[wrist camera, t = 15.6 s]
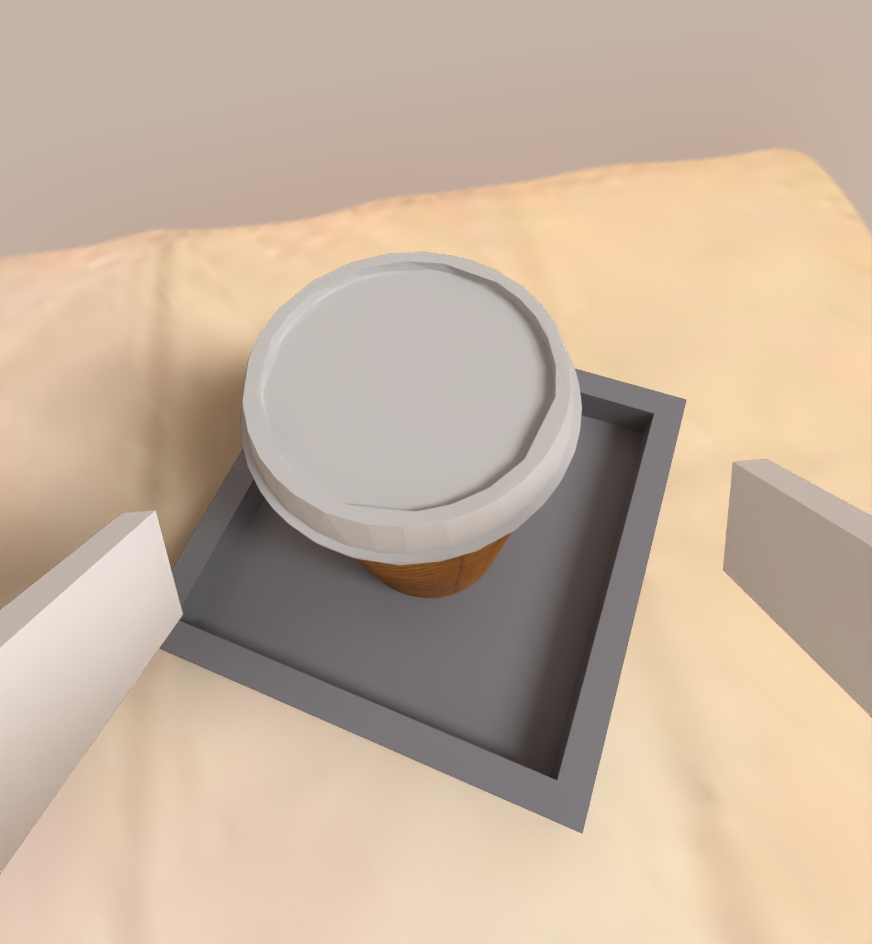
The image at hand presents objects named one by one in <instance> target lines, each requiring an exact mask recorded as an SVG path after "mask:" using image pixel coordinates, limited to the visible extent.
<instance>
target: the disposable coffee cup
mask: <svg viewBox="0 0 872 944" xmlns="http://www.w3.org/2000/svg"><path fill="white" fill-rule="evenodd" d="M581 413H582V404H581V395H580V387H579V383H578V379H577V375H576V371H575V369H574V366H573V364H572V361H571V359H570V356H569V354H568V352H567V350H566V348H565V345H564V342H563V340H562V338H561V335H560V333H559V331H558V329H557V326H556V324H555V322H554V321H553V320H552V318H551V317H550V316H549V314H548V313H547V311H546V310H545V309H544V307H543V306H542V305H541V304H540V303H539V302H538V301H537V300H536V299H535V298H534V297H533V296H532V295H531V294H530V293H529V292H528V291H527V290H526V289H525V288H524V287H523V286H521V285H520V284H518V283H516V282H515V281H513V280H511V279H510V278H508V277H507V276H505V275H503V274H502V273H500V272H498V271H497V270H495V269H492V268H490V267H487V266H485V265H483V264H480V263H478V262H475V261H472V260H468V259H464V258H461V257H457V256H452V255H444V254H437V253H429V252H413V253H389V254H385V255H381V256H376V257H372V258H368V259H364V260H360V261H355V262H351V263H349V264H347V265H345V266H343V267H341V268H338V269H336V270H334V271H332V272H330V273H328V274H326V275H324V276H322V277H320V278H318V279H316V280H314V281H312V282H311V283H309V284H308V285H307V286H306V287H304V288H303V289H302V290H301V291H300V292H298V293H297V294H296V295H295V296H293V297H292V298H291V299H290V300H289V301H287V302H286V303H285V304H284V305H282V306H281V307H280V308H279V309H278V311H277V312H276V313H275V315H274V316H273V318H272V319H271V320H270V322H269V323H268V324H267V326H266V327H265V328H264V330H263V331H262V332H261V334H260V335H259V338H258V340H257V342H256V344H255V346H254V349H253V351H252V353H251V355H250V357H249V360H248V365H247V370H246V375H245V380H244V388H243V407H242V413H241V432H242V445H243V449H244V453H245V457H246V460H247V464H248V468H249V470H250V472H251V474H252V476H253V478H254V480H255V482H256V484H257V486H258V488H259V490H260V492H261V493H262V495H263V496H264V497H265V499H266V500H267V501H268V503H269V504H270V505H271V507H272V508H273V509H274V510H275V511H276V512H277V513H278V514H279V515H280V516H281V517H282V518H283V519H284V520H285V521H286V522H287V523H288V524H290V525H291V526H293V527H294V528H295V529H297V530H298V531H300V532H301V533H303V534H304V535H305V536H307V537H308V538H310V539H311V540H313V541H314V542H316V543H317V544H319V545H321V546H323V547H326V548H328V549H331V550H334V551H336V552H339V553H341V554H344V555H347V556H349V557H352V558H355V559H356V560H357V561H358V562H360V563H361V564H362V565H363V566H365V567H366V568H367V569H368V570H370V571H371V572H372V573H373V574H375V575H376V576H377V577H379V578H380V579H381V580H382V581H383V582H384V583H386V584H387V585H389V586H390V587H391V588H393V589H394V590H397V591H399V592H401V593H403V594H406V595H409V596H414V597H420V598H441V597H446V596H451V595H453V594H455V593H458V592H460V591H463V590H465V589H467V588H468V587H470V586H471V585H473V584H474V583H476V582H477V581H478V580H479V579H480V578H481V577H482V576H483V575H484V574H485V573H486V572H487V570H488V569H489V567H490V566H491V564H492V563H493V561H494V559H495V558H496V556H497V554H498V553H499V551H500V550H501V548H502V547H503V545H504V544H505V542H506V541H507V539H508V537H509V536H510V534H511V533H512V532H513V531H515V530H516V529H517V528H518V527H519V526H521V525H522V524H523V523H524V522H525V521H526V520H527V519H528V518H529V517H531V516H532V515H533V514H534V513H535V512H536V511H537V510H538V509H539V508H540V507H542V506H543V504H544V503H545V502H546V501H547V500H548V498H549V497H550V496H551V494H552V493H553V491H554V490H555V489H556V487H557V486H558V485H559V483H560V482H561V480H562V478H563V477H564V474H565V472H566V470H567V468H568V466H569V464H570V461H571V459H572V457H573V455H574V453H575V450H576V445H577V441H578V437H579V433H580V426H581Z"/></svg>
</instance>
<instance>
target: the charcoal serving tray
mask: <svg viewBox="0 0 872 944" xmlns="http://www.w3.org/2000/svg"><path fill="white" fill-rule="evenodd" d="M574 369H575V368H574ZM575 371H576V375H577V379H578V383H579V387H580V395H581V404H582V413H581V426H580V433H579V437H578V441H577V445H576V450H575V453H574V455H573V457H572V459H571V461H570V464H569V466H568V468H567V470H566V472H565V474H564V477H563V478H562V480H561V482H560V483H559V485H558V486H557V487H556V489H555V490H554V491H553V493H552V494H551V496H550V497H549V498H548V500H547V501H546V502H545V503H544V504H543V506H542V507H540V508H539V509H538V510H537V511H536V512H535V513H534V514H533V515H532V516H531V517H529V518H528V519H527V520H526V521H525V522H524V523H523V524H522V525H521V526H519V527H518V528H517V529H516V530H515V531H513V532H512V533H511V534H510V536H509V537H508V539H507V541H506V542H505V544H504V545H503V547H502V548H501V550H500V551H499V553H498V554H497V556H496V558H495V559H494V561H493V563H492V564H491V566H490V567H489V569H488V570H487V572H486V573H485V574H484V575H483V576H482V577H481V578H480V579H479V580H478V581H477V582H476V583H474V584H473V585H471V586H470V587H468V588H467V589H465V590H463V591H460V592H458V593H455V594H453V595H451V596H446V597H441V598H420V597H414V596H409V595H406V594H403V593H401V592H399V591H397V590H394V589H393V588H391V587H390V586H389V585H387V584H386V583H384V582H383V581H382V580H381V579H380V578H379V577H377V576H376V575H375V574H373V573H372V572H371V571H370V570H368V569H367V568H366V567H365V566H363V565H362V564H361V563H360V562H358V561H357V560H356V559H355V558H352V557H349V556H347V555H344V554H341V553H339V552H336V551H334V550H331V549H328V548H326V547H323V546H321V545H319V544H317V543H316V542H314V541H313V540H311V539H310V538H308V537H307V536H305V535H304V534H303V533H301V532H300V531H298V530H297V529H295V528H294V527H293V526H291V525H290V524H288V523H287V522H286V521H285V520H284V519H283V518H282V517H281V516H280V515H279V514H278V513H277V512H276V511H275V510H274V509H273V508H272V507H271V505H270V504H269V503H268V501H267V500H266V499H265V497H264V496H263V495H262V493H261V492H260V490H259V488H258V486H257V484H256V482H255V480H254V478H253V476H252V474H251V472H250V470H249V468H248V464H247V460H246V457H245V453H244V449H243V450H242V452H241V453H240V455H239V457H238V458H237V460H236V462H235V464H234V465H233V467H232V469H231V470H230V472H229V474H228V475H227V477H226V479H225V480H224V482H223V484H222V486H221V487H220V489H219V491H218V492H217V494H216V496H215V497H214V499H213V501H212V503H211V504H210V506H209V508H208V509H207V511H206V513H205V514H204V516H203V518H202V519H201V521H200V523H199V525H198V526H197V528H196V530H195V531H194V533H193V535H192V536H191V538H190V540H189V542H188V543H187V545H186V547H185V548H184V550H183V552H182V553H181V555H180V557H179V558H178V560H177V562H176V564H175V565H174V567H173V569H172V570H171V571H172V575H173V578H174V582H175V586H176V590H177V594H178V598H179V601H180V605H181V609H182V613H183V615H182V617H181V618H180V619H179V621H178V622H177V624H176V625H175V627H174V628H173V629H172V631H171V632H170V634H169V635H168V636H167V638H166V639H165V641H164V642H163V644H162V645H161V646H160V649H162V650H164V651H167V652H169V653H171V654H174V655H176V656H178V657H180V658H183V659H185V660H187V661H190V662H192V663H194V664H196V665H199V666H201V667H203V668H205V669H208V670H210V671H212V672H215V673H217V674H219V675H221V676H224V677H226V678H228V679H231V680H233V681H235V682H237V683H240V684H242V685H244V686H247V687H249V688H251V689H253V690H256V691H258V692H260V693H263V694H265V695H267V696H269V697H272V698H274V699H276V700H279V701H281V702H283V703H285V704H288V705H290V706H292V707H295V708H297V709H299V710H301V711H304V712H306V713H308V714H311V715H313V716H315V717H317V718H320V719H322V720H324V721H326V722H329V723H331V724H333V725H336V726H338V727H340V728H342V729H345V730H347V731H349V732H352V733H354V734H356V735H358V736H361V737H363V738H365V739H368V740H370V741H372V742H374V743H377V744H379V745H381V746H384V747H386V748H388V749H390V750H393V751H395V752H397V753H400V754H402V755H404V756H406V757H409V758H411V759H413V760H416V761H418V762H420V763H422V764H425V765H427V766H429V767H432V768H434V769H436V770H438V771H441V772H443V773H445V774H447V775H450V776H452V777H454V778H457V779H459V780H461V781H463V782H466V783H468V784H470V785H473V786H475V787H477V788H479V789H482V790H484V791H486V792H489V793H491V794H493V795H495V796H498V797H500V798H502V799H505V800H507V801H509V802H511V803H514V804H516V805H518V806H521V807H523V808H525V809H527V810H530V811H532V812H534V813H537V814H539V815H541V816H543V817H546V818H548V819H550V820H552V821H555V822H557V823H559V824H562V825H564V826H566V827H568V828H571V829H573V830H575V831H578V832H580V833H583V829H584V825H585V821H586V816H587V812H588V808H589V804H590V800H591V796H592V791H593V787H594V783H595V779H596V775H597V771H598V766H599V762H600V758H601V754H602V750H603V746H604V741H605V737H606V733H607V729H608V725H609V721H610V716H611V712H612V708H613V704H614V700H615V696H616V691H617V687H618V683H619V679H620V675H621V671H622V666H623V662H624V658H625V654H626V650H627V646H628V641H629V637H630V633H631V629H632V625H633V621H634V616H635V612H636V608H637V604H638V600H639V595H640V591H641V587H642V583H643V579H644V575H645V570H646V566H647V562H648V558H649V554H650V550H651V545H652V541H653V537H654V533H655V529H656V525H657V520H658V516H659V512H660V508H661V504H662V500H663V495H664V491H665V487H666V483H667V479H668V475H669V470H670V466H671V462H672V458H673V454H674V450H675V445H676V441H677V437H678V433H679V429H680V425H681V420H682V416H683V412H684V408H685V404H686V399H682V398H679V397H675V396H672V395H668V394H664V393H661V392H657V391H654V390H650V389H646V388H643V387H639V386H636V385H632V384H628V383H625V382H621V381H618V380H614V379H610V378H607V377H603V376H600V375H596V374H593V373H589V372H585V371H582V370H578V369H575Z"/></svg>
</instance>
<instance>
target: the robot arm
mask: <svg viewBox="0 0 872 944" xmlns="http://www.w3.org/2000/svg"><path fill="white" fill-rule="evenodd" d="M723 571H724V572H725V573H726V574H727V575H729V576H730V577H731V578H732V579H733V580H734V581H735V582H736V583H737V584H738V585H739V586H740V587H741V588H742V589H743V590H744V591H745V592H746V593H747V594H748V595H749V596H750V597H751V598H752V599H753V600H754V601H755V602H756V603H757V604H758V605H759V606H760V607H761V608H762V609H763V610H764V611H765V612H766V613H767V614H768V615H769V616H770V617H771V618H772V619H773V620H774V621H775V622H776V623H777V624H778V625H779V626H780V627H781V628H782V629H783V630H784V631H785V632H786V633H787V634H788V635H789V636H790V637H791V638H792V639H793V640H794V641H795V642H796V643H797V644H798V645H799V646H800V647H801V648H802V649H803V650H804V651H805V652H806V653H807V654H808V655H809V656H810V657H811V658H812V659H813V660H814V661H815V662H816V663H817V664H818V665H819V666H820V667H821V668H822V669H823V670H824V671H825V672H826V673H827V674H828V675H829V676H830V677H831V678H832V679H833V680H834V681H836V682H837V683H838V684H839V685H840V686H841V687H842V688H843V689H844V690H845V691H846V692H847V693H848V694H849V695H850V696H851V697H852V698H853V699H854V700H855V701H856V702H857V703H858V704H859V705H860V706H861V707H862V708H863V709H864V710H865V711H866V712H867V713H868V714H869V715H870V716H871V717H872V516H871V515H870V514H868V513H866V512H864V511H862V510H860V509H859V508H857V507H855V506H853V505H851V504H849V503H847V502H846V501H844V500H842V499H840V498H838V497H836V496H834V495H833V494H831V493H829V492H827V491H825V490H823V489H822V488H820V487H818V486H816V485H814V484H812V483H810V482H809V481H807V480H805V479H803V478H801V477H799V476H797V475H796V474H794V473H792V472H790V471H788V470H786V469H785V468H783V467H781V466H779V465H777V464H775V463H773V462H772V461H770V460H768V459H760V460H748V461H737V462H733V466H732V477H731V488H730V499H729V510H728V521H727V531H726V542H725V553H724V564H723ZM182 615H183V613H182V609H181V605H180V601H179V598H178V594H177V590H176V586H175V582H174V578H173V575H172V571H171V567H170V563H169V559H168V556H167V552H166V548H165V544H164V540H163V537H162V533H161V529H160V525H159V521H158V517H157V514H156V510H152V511H140V512H129V513H122V514H120V515H119V516H118V517H117V518H115V519H114V520H113V521H112V522H110V523H109V524H108V525H107V526H105V527H104V528H103V529H101V530H100V531H99V532H98V533H96V534H95V535H94V536H93V537H91V538H90V539H89V540H88V541H86V542H85V543H84V544H83V545H81V546H80V547H79V548H78V549H76V550H75V551H74V552H73V553H71V554H70V555H69V556H68V557H66V558H65V559H64V560H63V561H61V562H60V563H59V564H57V565H56V566H55V567H54V568H52V569H51V570H50V571H49V572H47V573H46V574H45V575H44V576H42V577H41V578H40V579H39V580H37V581H36V582H35V583H34V584H32V585H31V586H30V587H29V588H27V589H26V590H25V591H24V592H22V593H21V594H20V595H19V596H17V597H16V598H15V599H13V600H12V601H11V602H10V603H8V604H7V605H6V606H5V607H3V608H2V609H1V610H0V873H1V872H2V870H3V869H4V868H5V866H6V865H7V863H8V862H9V861H10V859H11V858H12V856H13V855H14V853H15V852H16V851H17V849H18V848H19V846H20V845H21V844H22V842H23V841H24V839H25V838H26V836H27V835H28V834H29V832H30V831H31V829H32V828H33V827H34V825H35V824H36V822H37V821H38V819H39V818H40V817H41V815H42V814H43V812H44V811H45V809H46V808H47V807H48V805H49V804H50V802H51V801H52V800H53V798H54V797H55V795H56V794H57V792H58V791H59V790H60V788H61V787H62V785H63V784H64V783H65V781H66V780H67V778H68V777H69V775H70V774H71V773H72V771H73V770H74V768H75V767H76V766H77V764H78V763H79V761H80V760H81V758H82V757H83V756H84V754H85V753H86V751H87V750H88V749H89V747H90V746H91V744H92V743H93V741H94V740H95V739H96V737H97V736H98V734H99V733H100V731H101V730H102V729H103V727H104V726H105V724H106V723H107V722H108V720H109V719H110V717H111V716H112V714H113V713H114V712H115V710H116V709H117V707H118V706H119V705H120V703H121V702H122V700H123V699H124V697H125V696H126V695H127V693H128V692H129V690H130V689H131V688H132V686H133V685H134V683H135V682H136V680H137V679H138V678H139V676H140V675H141V673H142V672H143V670H144V669H145V668H146V666H147V665H148V663H149V662H150V661H151V659H152V658H153V656H154V655H155V653H156V652H157V651H158V649H159V648H160V646H161V645H162V644H163V642H164V641H165V639H166V638H167V636H168V635H169V634H170V632H171V631H172V629H173V628H174V627H175V625H176V624H177V622H178V621H179V619H180V618H181V617H182Z"/></svg>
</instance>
